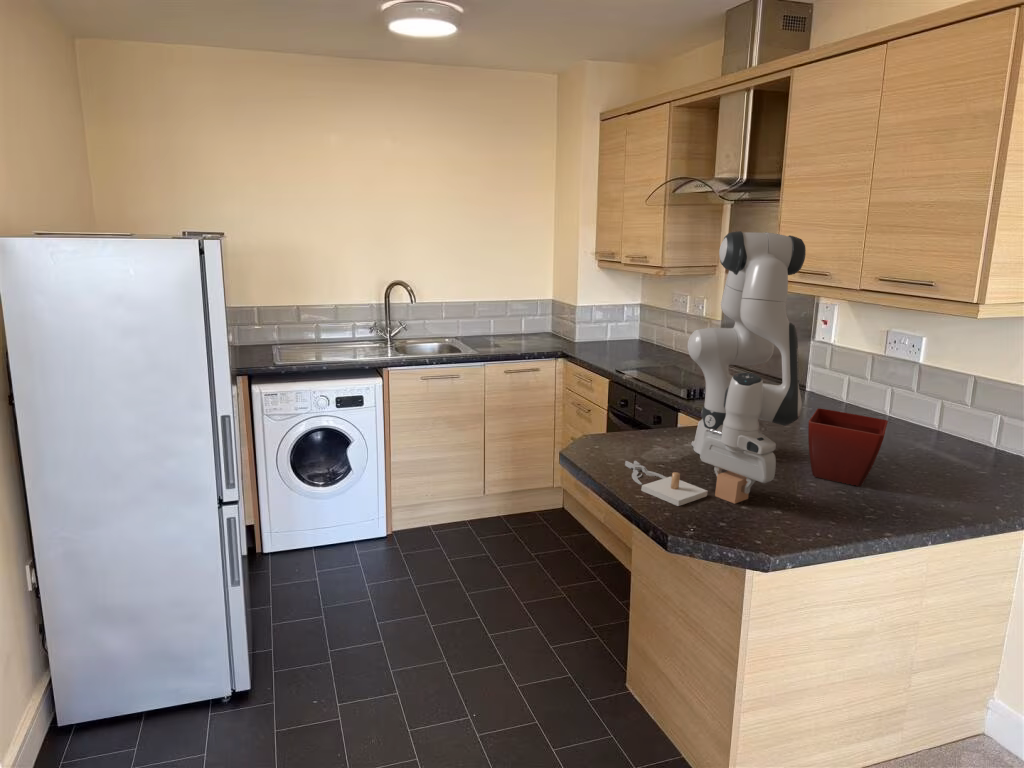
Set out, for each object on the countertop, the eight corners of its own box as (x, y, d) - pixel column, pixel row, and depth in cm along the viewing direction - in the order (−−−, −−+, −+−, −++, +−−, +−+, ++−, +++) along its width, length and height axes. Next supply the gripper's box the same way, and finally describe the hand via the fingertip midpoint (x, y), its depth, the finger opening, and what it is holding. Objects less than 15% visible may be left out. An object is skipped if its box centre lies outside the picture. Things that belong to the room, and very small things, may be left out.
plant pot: (878, 474, 208) (888, 419, 204) (873, 494, 192) (884, 435, 188) (809, 460, 217) (817, 407, 213) (799, 478, 201) (807, 421, 197)
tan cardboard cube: (728, 491, 188) (731, 470, 187) (748, 498, 184) (751, 477, 182) (714, 495, 185) (717, 474, 183) (734, 503, 180) (737, 481, 179)
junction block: (670, 481, 193) (672, 462, 192) (707, 496, 184) (709, 476, 183) (641, 490, 186) (643, 470, 184) (678, 506, 177) (680, 485, 175)
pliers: (640, 480, 189) (615, 461, 203) (639, 486, 190) (614, 466, 203) (672, 478, 192) (645, 459, 206) (671, 483, 193) (645, 464, 207)
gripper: (698, 428, 186) (692, 477, 189) (768, 450, 171) (760, 503, 174) (712, 424, 190) (706, 473, 193) (782, 446, 175) (774, 498, 178)
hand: (732, 487), depth 184 cm, fingers closed on tan cardboard cube, 6 cm apart
